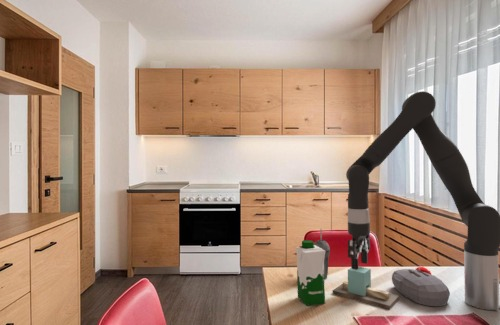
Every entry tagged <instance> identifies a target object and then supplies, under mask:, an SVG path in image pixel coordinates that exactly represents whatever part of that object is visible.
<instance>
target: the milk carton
mask: <svg viewBox="0 0 500 325" xmlns="http://www.w3.org/2000/svg"><path fill="white" fill-rule="evenodd" d="M314 243H315V242H314V241H313V240H311V239H310V240H309V239H304V240H302V241H301V246H300V245H299V246H295V250H296V268H297V269H296V271H297V272H296V274H297V275H296V276H297V277H296V279H297V280H296V283H297V288H296V289H297V298H298V299H299V300H300V301H301V302H302V303H303V304H304V305H305V306H306V307H308V306H314V305H315V306H317V305H322V304H326V294H325V291H326V290H325V280H324V258H325V252H326V251H325V250H323V249H322V248H320V247H318V246H316V245H314Z"/></svg>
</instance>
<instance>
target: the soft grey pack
mask: <svg viewBox="0 0 500 325" xmlns="http://www.w3.org/2000/svg"><path fill="white" fill-rule="evenodd" d="M415 269H416V268H415ZM415 269H414V268H413V269H412V268H411V269H410V268H404V269H403V268H402V269H397V270H394V271H393V273H392V275H391V283H392V285H393V287H394V288H395V289H396V290H397V291H398V292H399V293H401V295H402V296H404V297H405V298H406V299H408V300H411V301H412V302H414V303H417V304H420V305H424V306H428V307H441V306H445V305H446V304H447V303H448V302H449V298H450V295H451V293H450V290H449V288H448V286H447V285H446V284H445V283H444V282H443V280H442V279H440V278H438V277H437V276H436V275H434V274H432V273H431V274H428V273H425V272H423V271H420V270H419V269H416V270H415Z"/></svg>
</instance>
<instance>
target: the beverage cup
mask: <svg viewBox="0 0 500 325" xmlns="http://www.w3.org/2000/svg"><path fill="white" fill-rule="evenodd" d="M322 231H323V229H322V228H320V231H319V232H320V239H318V240H316V241H315V242H313V243H314V245H316V246H318V247H320V248H322V249H323V250H325V251H326V252H325V258H324V281H325V280H327V279H328V275H329V274H328V272H329V258H330V253H331V249H330V245H329V243H328V242H327V241H326V240H324V239H322V238H323V236H322V235H323V232H322Z"/></svg>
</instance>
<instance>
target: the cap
mask: <svg viewBox="0 0 500 325" xmlns="http://www.w3.org/2000/svg"><path fill="white" fill-rule="evenodd" d="M416 269H419V270H420V271H423V272H425V273H428V274H431V275H432V272H431V271H430V270H429V269H428V268H427V267H424V266H417V267H416V268H415V269H414V270H416Z"/></svg>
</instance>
